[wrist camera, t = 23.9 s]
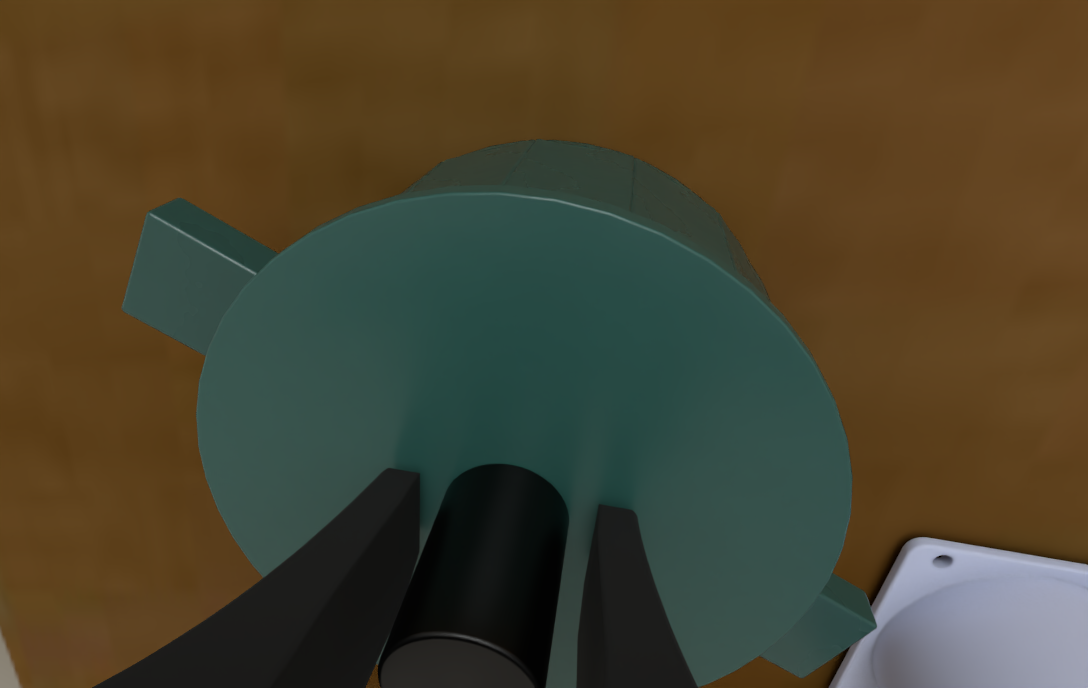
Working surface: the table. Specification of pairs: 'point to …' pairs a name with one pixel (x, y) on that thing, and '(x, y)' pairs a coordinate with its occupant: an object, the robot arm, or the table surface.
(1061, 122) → the table surface
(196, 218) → the pot
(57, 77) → the table surface
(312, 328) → the lid
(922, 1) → the table surface
